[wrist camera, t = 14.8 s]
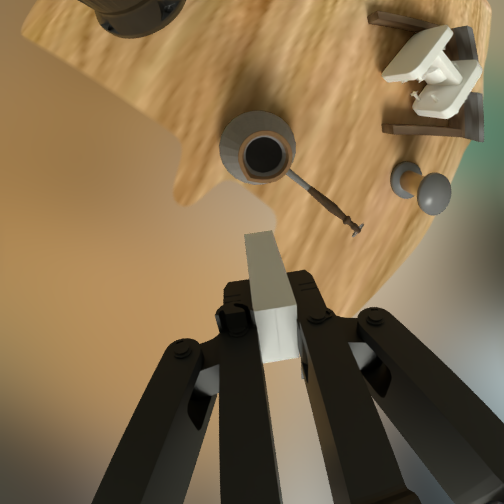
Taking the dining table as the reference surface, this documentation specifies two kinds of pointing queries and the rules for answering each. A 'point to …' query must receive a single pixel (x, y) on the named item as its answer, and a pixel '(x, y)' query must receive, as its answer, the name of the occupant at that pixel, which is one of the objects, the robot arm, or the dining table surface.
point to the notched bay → (457, 48)
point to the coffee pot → (267, 155)
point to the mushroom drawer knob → (421, 187)
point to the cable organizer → (434, 73)
